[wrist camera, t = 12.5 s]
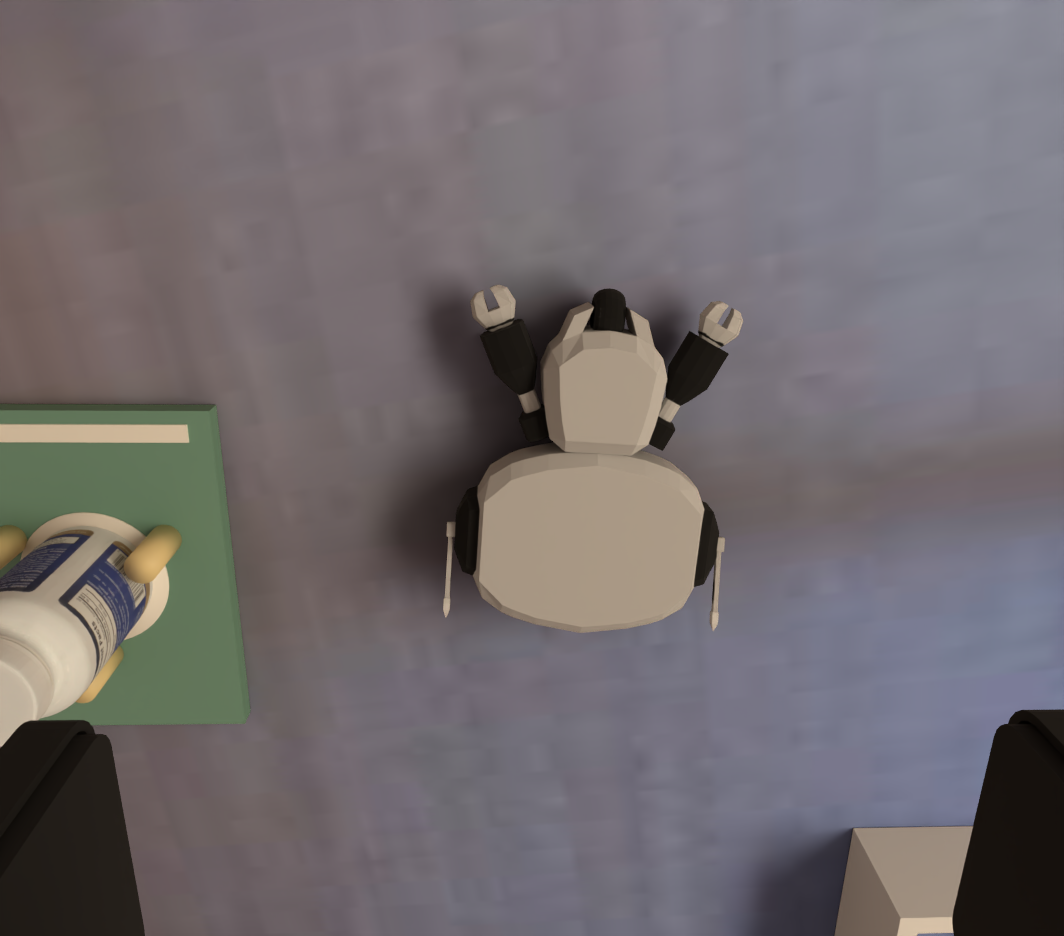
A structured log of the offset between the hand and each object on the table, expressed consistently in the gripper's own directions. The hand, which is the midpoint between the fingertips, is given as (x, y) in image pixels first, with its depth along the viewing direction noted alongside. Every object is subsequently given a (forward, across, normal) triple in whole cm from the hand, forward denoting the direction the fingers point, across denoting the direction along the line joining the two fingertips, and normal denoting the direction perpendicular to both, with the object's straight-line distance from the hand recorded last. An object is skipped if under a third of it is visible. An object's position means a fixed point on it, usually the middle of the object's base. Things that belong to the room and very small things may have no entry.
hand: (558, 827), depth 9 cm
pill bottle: (+29, +19, +12) cm, 37 cm away
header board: (+30, +19, +12) cm, 38 cm away
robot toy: (+31, -4, +6) cm, 31 cm away
